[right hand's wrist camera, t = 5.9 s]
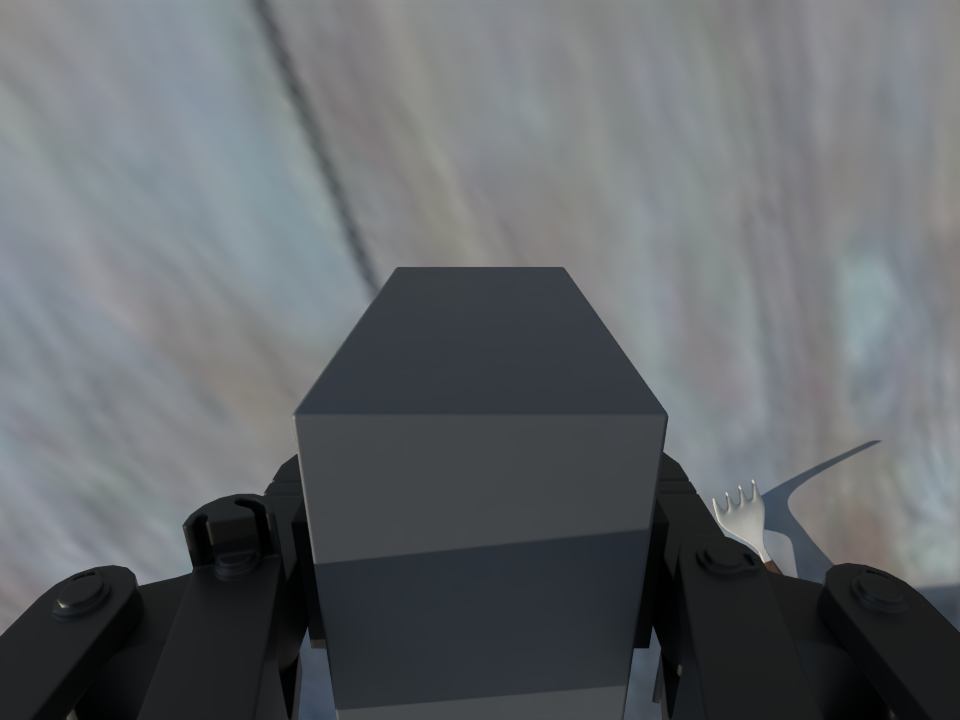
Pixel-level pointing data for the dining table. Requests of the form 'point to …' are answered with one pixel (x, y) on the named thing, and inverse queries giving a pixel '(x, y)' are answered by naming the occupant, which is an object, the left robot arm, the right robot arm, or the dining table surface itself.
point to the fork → (747, 522)
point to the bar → (480, 500)
